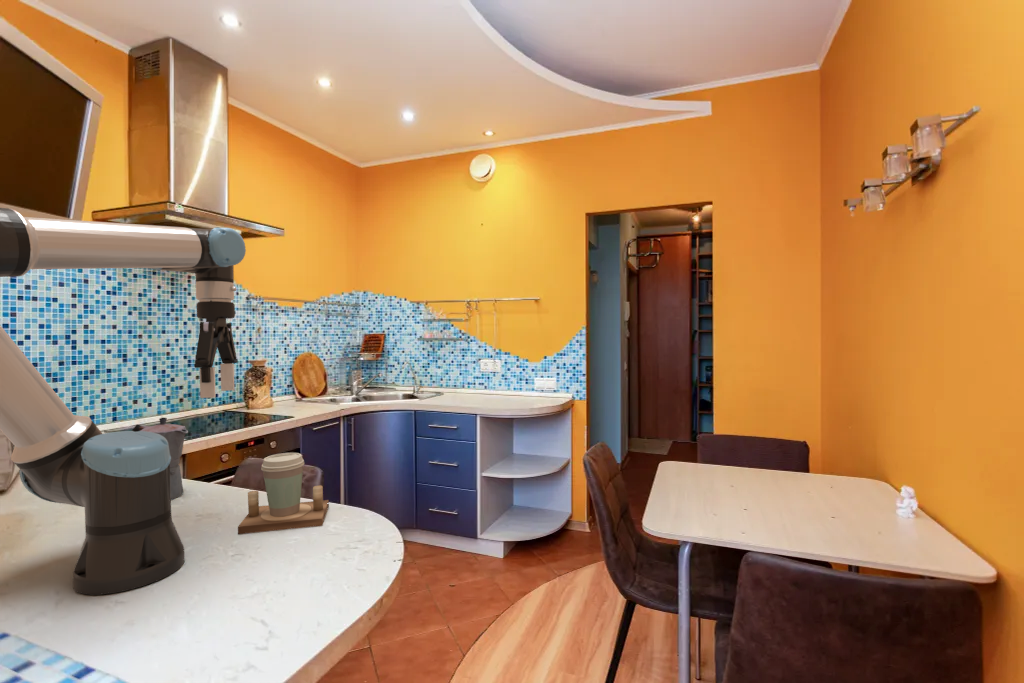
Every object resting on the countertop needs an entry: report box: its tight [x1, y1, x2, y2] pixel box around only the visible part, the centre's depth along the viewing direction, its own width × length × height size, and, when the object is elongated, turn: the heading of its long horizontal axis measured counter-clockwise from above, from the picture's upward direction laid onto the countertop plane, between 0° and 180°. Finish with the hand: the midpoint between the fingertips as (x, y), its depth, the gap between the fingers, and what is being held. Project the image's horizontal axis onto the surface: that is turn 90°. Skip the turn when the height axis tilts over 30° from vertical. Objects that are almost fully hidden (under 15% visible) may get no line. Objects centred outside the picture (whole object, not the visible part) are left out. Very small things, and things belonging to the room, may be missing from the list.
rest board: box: [237, 485, 330, 535], centre depth 109 cm, size 12×16×6 cm
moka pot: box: [131, 417, 189, 500], centre depth 125 cm, size 10×15×20 cm, turn 89°
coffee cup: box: [260, 452, 305, 517], centre depth 108 cm, size 9×8×12 cm
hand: (218, 394), depth 115 cm, fingers open, 13 cm apart
